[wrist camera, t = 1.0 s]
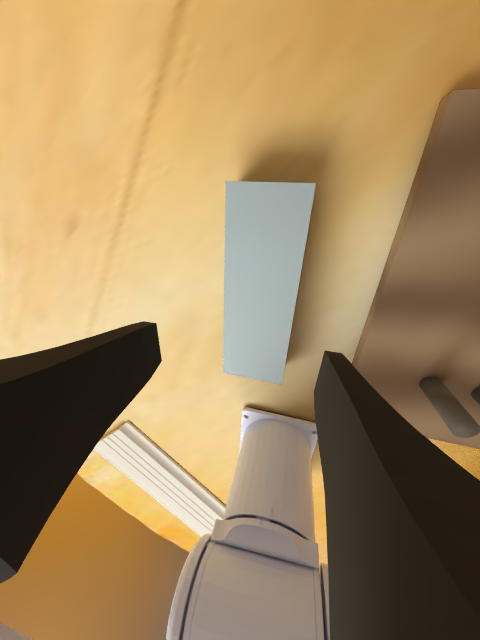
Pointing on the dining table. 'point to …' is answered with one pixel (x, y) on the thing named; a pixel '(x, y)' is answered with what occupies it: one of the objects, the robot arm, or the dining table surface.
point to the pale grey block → (262, 273)
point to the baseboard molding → (161, 477)
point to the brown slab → (434, 288)
